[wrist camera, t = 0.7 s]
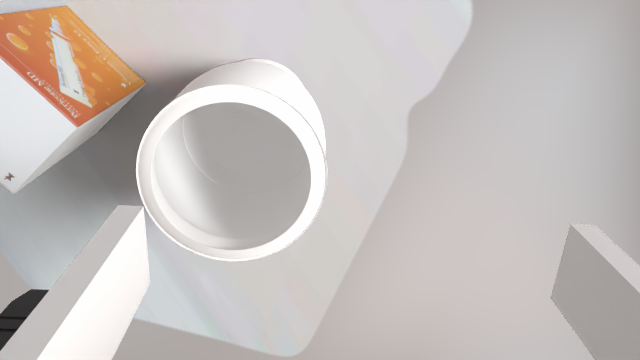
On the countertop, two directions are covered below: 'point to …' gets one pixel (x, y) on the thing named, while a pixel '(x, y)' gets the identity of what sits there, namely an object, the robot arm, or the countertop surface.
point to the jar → (235, 162)
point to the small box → (54, 90)
